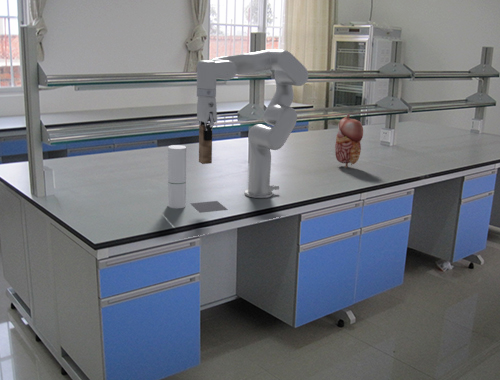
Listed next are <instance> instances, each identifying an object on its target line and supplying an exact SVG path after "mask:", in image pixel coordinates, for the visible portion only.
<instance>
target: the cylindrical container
mask: <svg viewBox="0 0 500 380" xmlns="http://www.w3.org/2000/svg"><path fill="white" fill-rule="evenodd" d="M186 196H187V146H186V145H181V144H171V145H168V147H167V207H168V208H170V209H183V208H186V206H187V203H186V202H187V201H186V200H187V199H186V198H187V197H186Z"/></svg>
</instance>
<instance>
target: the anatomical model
mask: <svg viewBox="0 0 500 380" xmlns="http://www.w3.org/2000/svg"><path fill="white" fill-rule="evenodd" d="M350 116H351V115H350V113H347V114H346V116H345V117H343V118H341V119H340V120H339V122H338V126H337V127H338V128H337V129H338V130H337V134H336V138H335V139H336V140H335V146H334V148H335V149H334V150H335V151H334V153H335V158H336V160H337V161H338V163H340V164H345V166H344V168H348V166H349V164H350V165H351V166H352V165H355V164H356V163H357V162H358V160H359V159H360V156H361V150H362V143H361V141H362V139H363V137H364V127H363V123H362V122H361V121H360V120H358V119H355V118H350Z"/></svg>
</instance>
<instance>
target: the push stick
mask: <svg viewBox="0 0 500 380" xmlns="http://www.w3.org/2000/svg"><path fill="white" fill-rule="evenodd" d="M208 125H209V124H207V126H208ZM204 130H205V125H198V163H201V165H206V164H207V165H208V164H209V165H210V164H213V162H212V161H213V160H212V159H213V139H212V140H208V141H205V140H204Z"/></svg>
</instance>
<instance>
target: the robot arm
mask: <svg viewBox="0 0 500 380" xmlns="http://www.w3.org/2000/svg"><path fill="white" fill-rule="evenodd" d="M269 71H274V74H273V75H274V82H275V93H274V94H273V97H272V98H271V99H270V102H269V103H268V105H267V107H266V109H265V110H264V112H263V116H262V119H263V122H265V123H266V124H261V123H257V124H254V125H252V126H251V127H250V129H249V131H248V133H247V134H248V139H247V140H248V144H249V160H248V161H249V162H248V163H249V165H248V166H249V167H248V182H247V183H248V184H247V186H248V187H247V189H245V190H244V195H245V196H246V197H249V198H253V199H268V198H271V197H272V196H273V191H279V190H280V185H275V184H271V165H272V151H278V150H280V149H282V147H283V146H284V145H285V144H286V142H287V140H288V138H289V136H290V135H291V133H292V131H293V130H294V128H295V126H296V125H297V121H298V113H297V111H296V110H295V108H293V107H291V105H292V103H293V101H294V99H295V98H294V97H295V96H294V90H293V86H296V87H301V86H303V85H305V84H306V83H307V82H308V80H309V72H308V69H307V68H306V66H304V65H303V63H302V62H301V61H299V59H297V58H296V56H294V54H292V53H291V52H289V51H288V50H285V49H278V48H277V49H275V48H271V49H270V48H269V49H265V50H260V51H253V52H249V53H240V54H235V55H234V54H233V55H226V56H220V57H215V58H212V59H209V60H207V59H206V60H205V59H204V60H203V59H201V60H198V61H197V64H196V97H197V102H196V103H197V105H196V118H197V120H198V124H199V125H205V130H204V140H205V141H208V140H212V141H213V127H214V125H215V124H216V123H217V122H218V117H217V116H218V113H217V112H218V111H217V110H218V109H217V99H216V97H217V80H224V81H229V80H233V78H235V77H236V75H255V74H259V73H264V72H269ZM199 125H198V126H199ZM207 125H208V126H207Z"/></svg>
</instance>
